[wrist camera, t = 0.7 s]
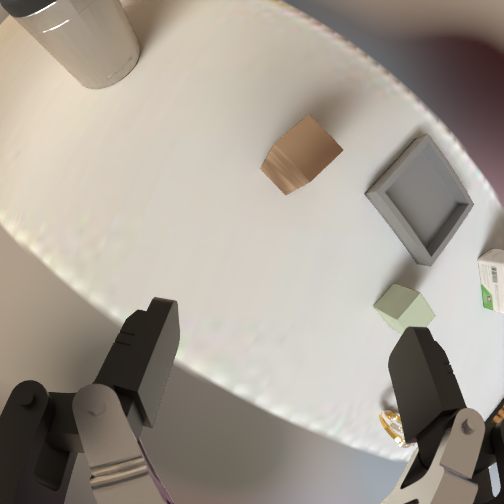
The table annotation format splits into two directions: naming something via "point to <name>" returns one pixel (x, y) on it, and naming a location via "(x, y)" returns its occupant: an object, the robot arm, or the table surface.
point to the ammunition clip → (497, 414)
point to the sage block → (404, 308)
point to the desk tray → (421, 200)
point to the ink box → (492, 279)
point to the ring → (386, 422)
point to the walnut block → (300, 155)
